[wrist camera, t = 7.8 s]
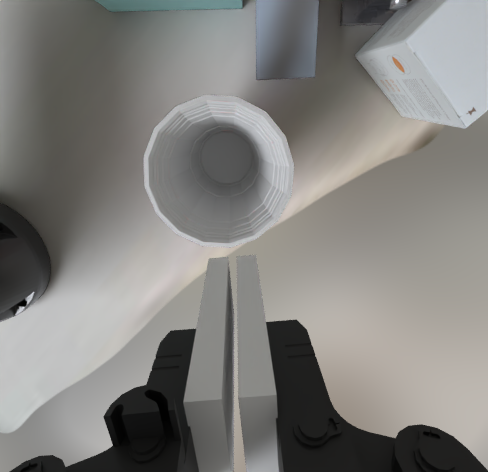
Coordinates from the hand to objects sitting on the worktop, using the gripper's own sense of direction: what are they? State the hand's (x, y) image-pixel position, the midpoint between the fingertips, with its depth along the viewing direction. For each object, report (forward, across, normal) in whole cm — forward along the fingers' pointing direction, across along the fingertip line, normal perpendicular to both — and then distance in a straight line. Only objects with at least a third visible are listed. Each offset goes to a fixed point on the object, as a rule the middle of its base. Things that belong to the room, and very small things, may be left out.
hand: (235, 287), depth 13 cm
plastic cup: (+23, -1, +2) cm, 23 cm away
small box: (+23, +17, +10) cm, 30 cm away
